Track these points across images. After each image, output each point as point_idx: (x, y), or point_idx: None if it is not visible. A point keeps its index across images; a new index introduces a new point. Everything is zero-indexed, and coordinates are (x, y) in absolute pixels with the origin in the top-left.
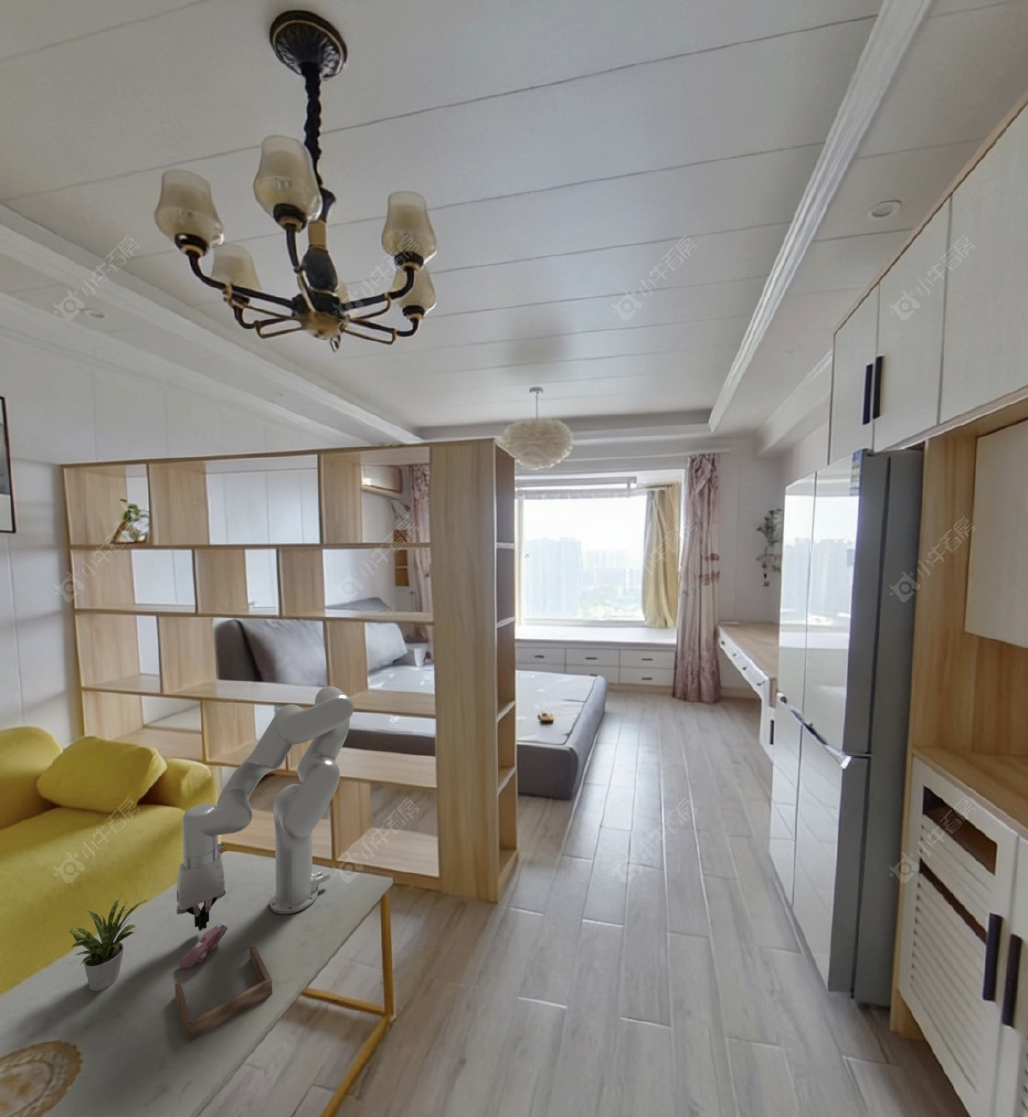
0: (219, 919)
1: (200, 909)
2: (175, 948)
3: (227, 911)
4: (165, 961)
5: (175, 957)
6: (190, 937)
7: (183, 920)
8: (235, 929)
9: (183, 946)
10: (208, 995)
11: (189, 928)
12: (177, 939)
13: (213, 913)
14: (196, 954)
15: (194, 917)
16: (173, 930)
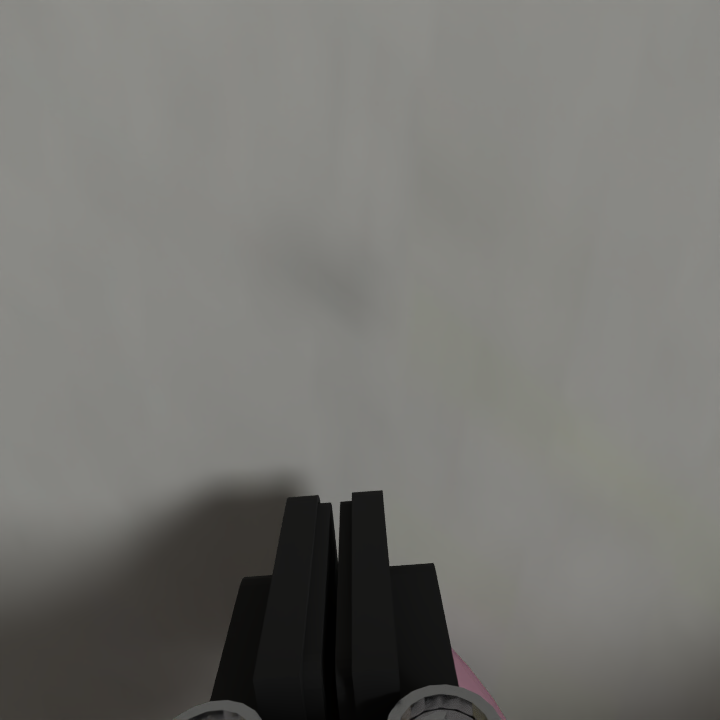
0: (564, 348)
1: (322, 698)
2: (78, 549)
3: (691, 241)
4: (5, 670)
5: (92, 672)
6: (225, 470)
7: (128, 28)
8: (660, 626)
9: (157, 568)
10: None
11: (213, 289)
12: (84, 414)
13: (526, 155)
14: None
15: (222, 666)
16: (13, 191)
